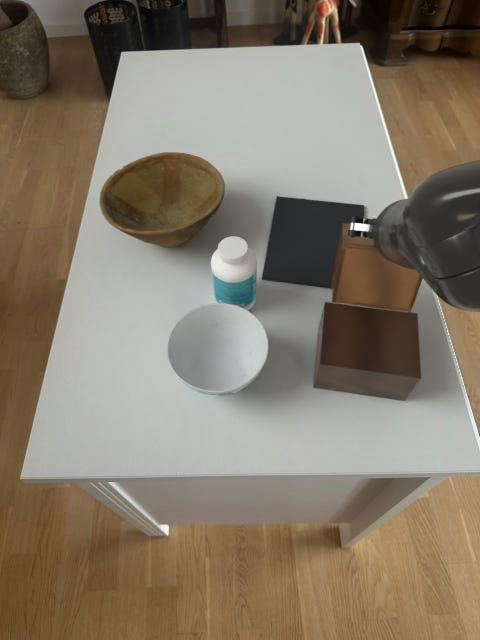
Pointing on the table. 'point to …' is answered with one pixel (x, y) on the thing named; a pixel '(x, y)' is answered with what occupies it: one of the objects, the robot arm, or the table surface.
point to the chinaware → (217, 348)
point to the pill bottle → (234, 273)
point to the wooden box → (371, 276)
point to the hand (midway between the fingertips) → (385, 230)
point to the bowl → (162, 197)
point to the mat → (306, 240)
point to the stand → (367, 351)
